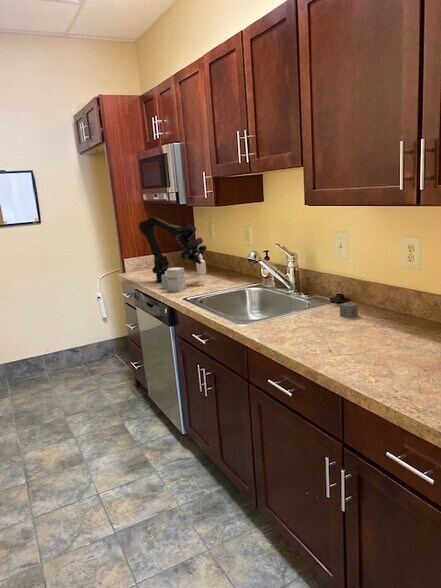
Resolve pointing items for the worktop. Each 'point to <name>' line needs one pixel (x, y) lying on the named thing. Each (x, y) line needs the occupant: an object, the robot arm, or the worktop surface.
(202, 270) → the eye dropper bottle
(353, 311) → the dice cube
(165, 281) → the teal block
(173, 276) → the supplement box
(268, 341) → the worktop surface
